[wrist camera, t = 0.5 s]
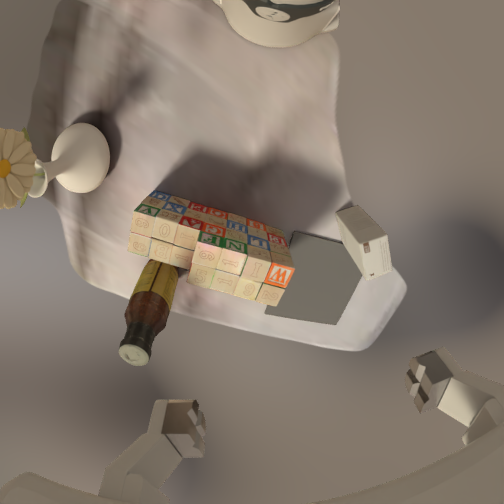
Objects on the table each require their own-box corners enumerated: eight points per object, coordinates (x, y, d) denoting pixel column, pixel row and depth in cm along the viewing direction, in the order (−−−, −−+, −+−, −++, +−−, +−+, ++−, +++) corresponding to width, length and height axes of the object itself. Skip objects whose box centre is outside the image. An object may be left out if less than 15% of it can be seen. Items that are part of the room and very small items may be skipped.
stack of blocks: (145, 224, 44) (118, 262, 33) (153, 189, 42) (124, 217, 31) (269, 262, 48) (277, 308, 37) (283, 229, 46) (296, 269, 35)
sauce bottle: (144, 279, 49) (106, 362, 31) (148, 250, 46) (104, 330, 29) (178, 289, 50) (153, 377, 32) (184, 260, 47) (157, 346, 30)
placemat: (294, 231, 45) (294, 232, 45) (372, 251, 48) (373, 252, 47) (264, 312, 53) (264, 313, 53) (335, 323, 55) (335, 325, 55)
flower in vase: (106, 197, 42) (10, 281, 19) (54, 180, 39) (-49, 245, 17) (125, 119, 36) (9, 143, 14) (67, 107, 34) (-53, 129, 12)
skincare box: (364, 235, 46) (395, 272, 35) (340, 243, 47) (366, 283, 36) (357, 202, 43) (390, 233, 33) (332, 211, 44) (359, 245, 33)
